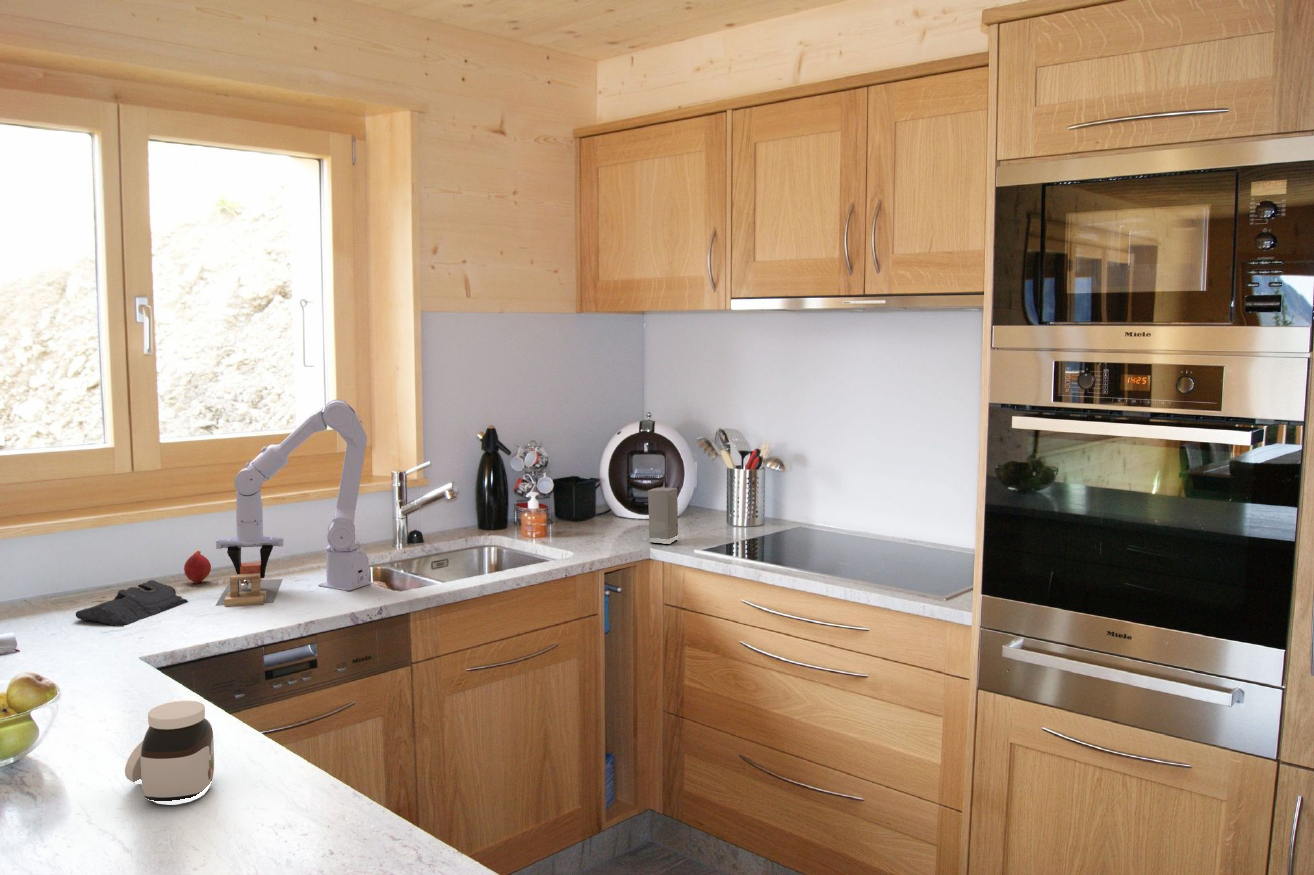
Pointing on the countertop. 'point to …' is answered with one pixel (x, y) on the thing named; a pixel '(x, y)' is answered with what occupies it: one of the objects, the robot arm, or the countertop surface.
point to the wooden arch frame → (245, 597)
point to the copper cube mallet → (249, 572)
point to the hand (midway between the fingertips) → (251, 577)
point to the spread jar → (174, 752)
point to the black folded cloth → (134, 604)
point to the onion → (197, 567)
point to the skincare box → (663, 513)
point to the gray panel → (265, 585)
